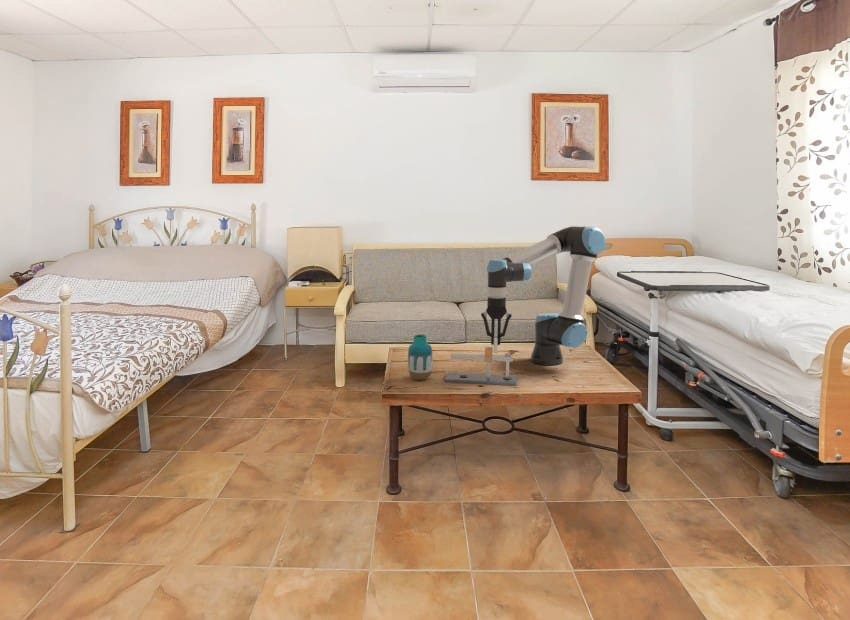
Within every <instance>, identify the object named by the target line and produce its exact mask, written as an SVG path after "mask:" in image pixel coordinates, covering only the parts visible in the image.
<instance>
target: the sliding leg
mask: <svg viewBox="0 0 850 620" xmlns="http://www.w3.org/2000/svg"><path fill="white" fill-rule="evenodd" d="M484 355H485V360H484V362H486V374H487V377H490V374H491V363H492V362H493V361H492V355H494V346H485V347H484Z"/></svg>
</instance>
